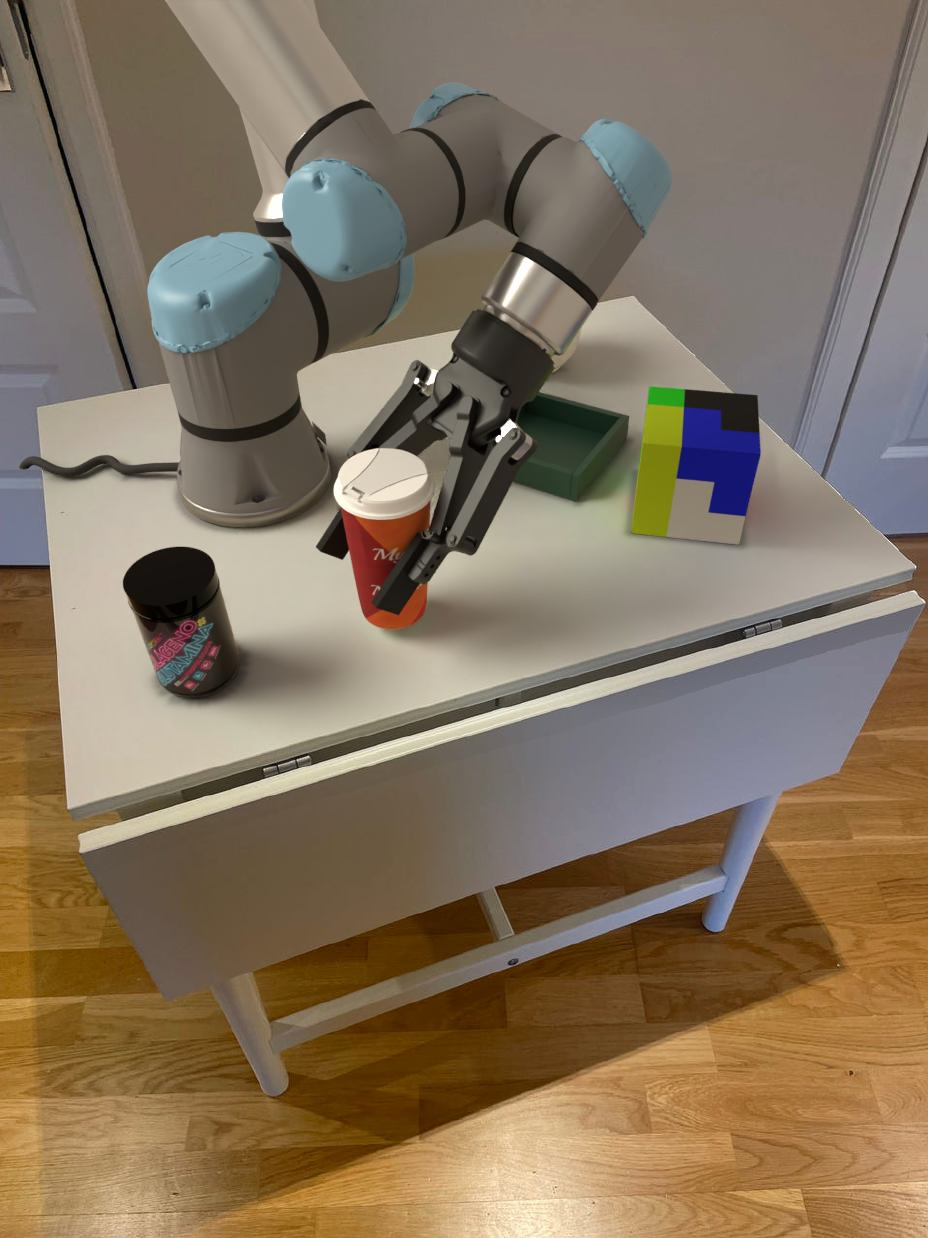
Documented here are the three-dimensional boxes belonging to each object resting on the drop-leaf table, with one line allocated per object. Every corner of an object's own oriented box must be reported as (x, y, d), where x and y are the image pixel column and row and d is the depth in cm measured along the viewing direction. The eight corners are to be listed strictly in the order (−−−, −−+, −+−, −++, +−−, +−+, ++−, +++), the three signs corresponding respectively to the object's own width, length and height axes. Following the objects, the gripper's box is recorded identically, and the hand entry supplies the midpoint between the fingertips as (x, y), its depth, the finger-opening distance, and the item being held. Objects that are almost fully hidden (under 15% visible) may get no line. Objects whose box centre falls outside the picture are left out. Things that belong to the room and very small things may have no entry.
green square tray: (467, 467, 95) (466, 442, 93) (522, 411, 103) (523, 387, 100) (577, 502, 90) (579, 476, 88) (626, 440, 98) (629, 415, 96)
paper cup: (395, 653, 74) (384, 519, 64) (330, 609, 78) (310, 476, 68) (458, 602, 78) (457, 469, 68) (393, 563, 82) (383, 431, 72)
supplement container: (140, 678, 74) (103, 582, 67) (203, 630, 78) (174, 535, 71) (196, 715, 71) (163, 618, 64) (259, 664, 75) (234, 567, 68)
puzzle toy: (738, 544, 85) (760, 453, 78) (630, 533, 86) (642, 442, 79) (737, 483, 92) (757, 394, 85) (637, 473, 93) (649, 386, 87)
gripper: (636, 409, 65) (459, 662, 70) (464, 308, 77) (323, 529, 82) (587, 365, 59) (398, 644, 64) (409, 262, 71) (260, 504, 76)
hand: (356, 580), depth 73 cm, fingers closed on paper cup, 8 cm apart
